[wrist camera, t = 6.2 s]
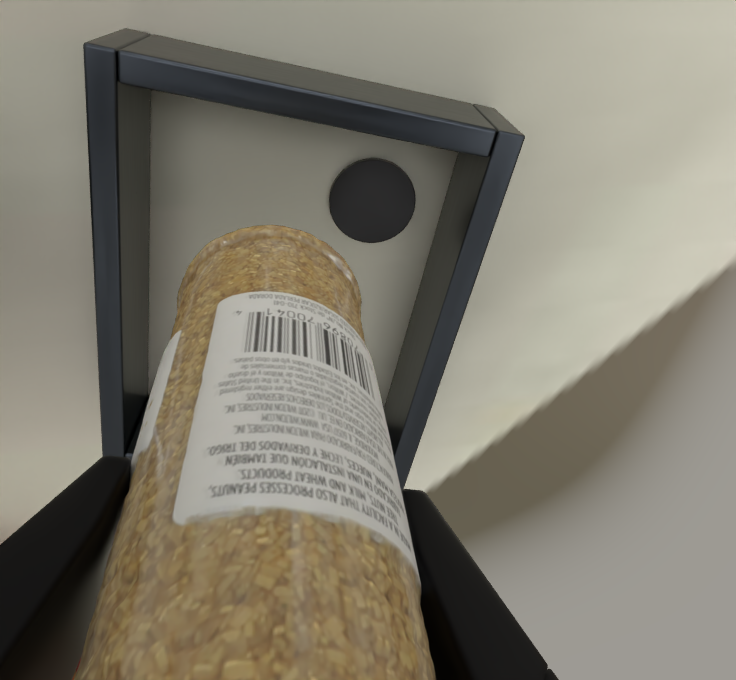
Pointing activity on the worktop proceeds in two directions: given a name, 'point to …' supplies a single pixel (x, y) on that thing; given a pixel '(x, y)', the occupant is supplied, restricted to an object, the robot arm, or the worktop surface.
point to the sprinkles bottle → (262, 488)
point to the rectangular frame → (347, 201)
